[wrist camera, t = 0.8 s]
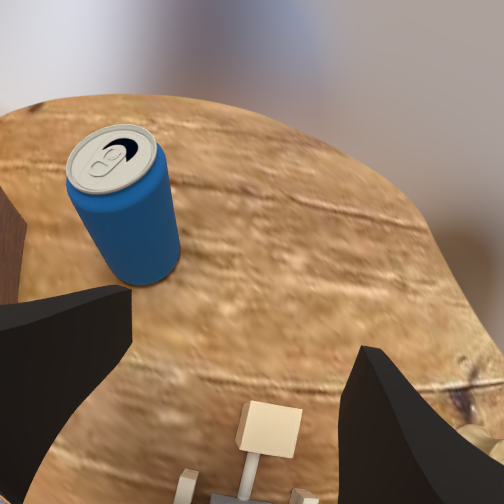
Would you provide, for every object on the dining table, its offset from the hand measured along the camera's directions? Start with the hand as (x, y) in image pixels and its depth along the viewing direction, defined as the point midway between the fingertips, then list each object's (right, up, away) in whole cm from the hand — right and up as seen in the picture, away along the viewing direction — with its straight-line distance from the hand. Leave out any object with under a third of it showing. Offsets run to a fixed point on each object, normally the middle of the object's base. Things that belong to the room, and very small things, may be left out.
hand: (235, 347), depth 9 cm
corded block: (0, -14, +10) cm, 17 cm away
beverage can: (-9, +2, +18) cm, 20 cm away
